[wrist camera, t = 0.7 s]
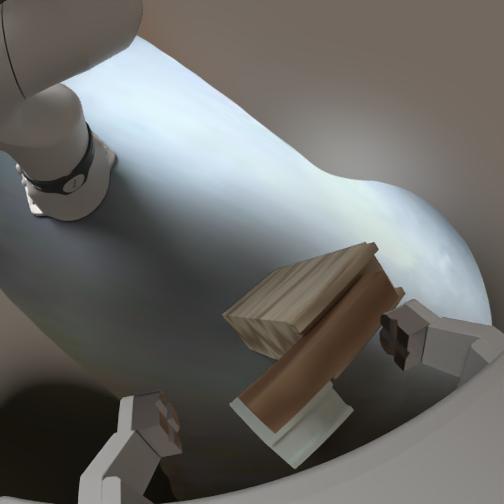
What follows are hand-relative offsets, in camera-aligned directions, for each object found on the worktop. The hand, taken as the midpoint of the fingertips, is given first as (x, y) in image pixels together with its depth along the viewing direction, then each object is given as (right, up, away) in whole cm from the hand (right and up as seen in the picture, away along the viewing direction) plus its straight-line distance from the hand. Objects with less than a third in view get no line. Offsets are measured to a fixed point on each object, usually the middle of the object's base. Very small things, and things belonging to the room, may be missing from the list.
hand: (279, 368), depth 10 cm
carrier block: (+2, -22, +42) cm, 48 cm away
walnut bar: (+5, -5, +18) cm, 20 cm away
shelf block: (+1, -6, +45) cm, 45 cm away
